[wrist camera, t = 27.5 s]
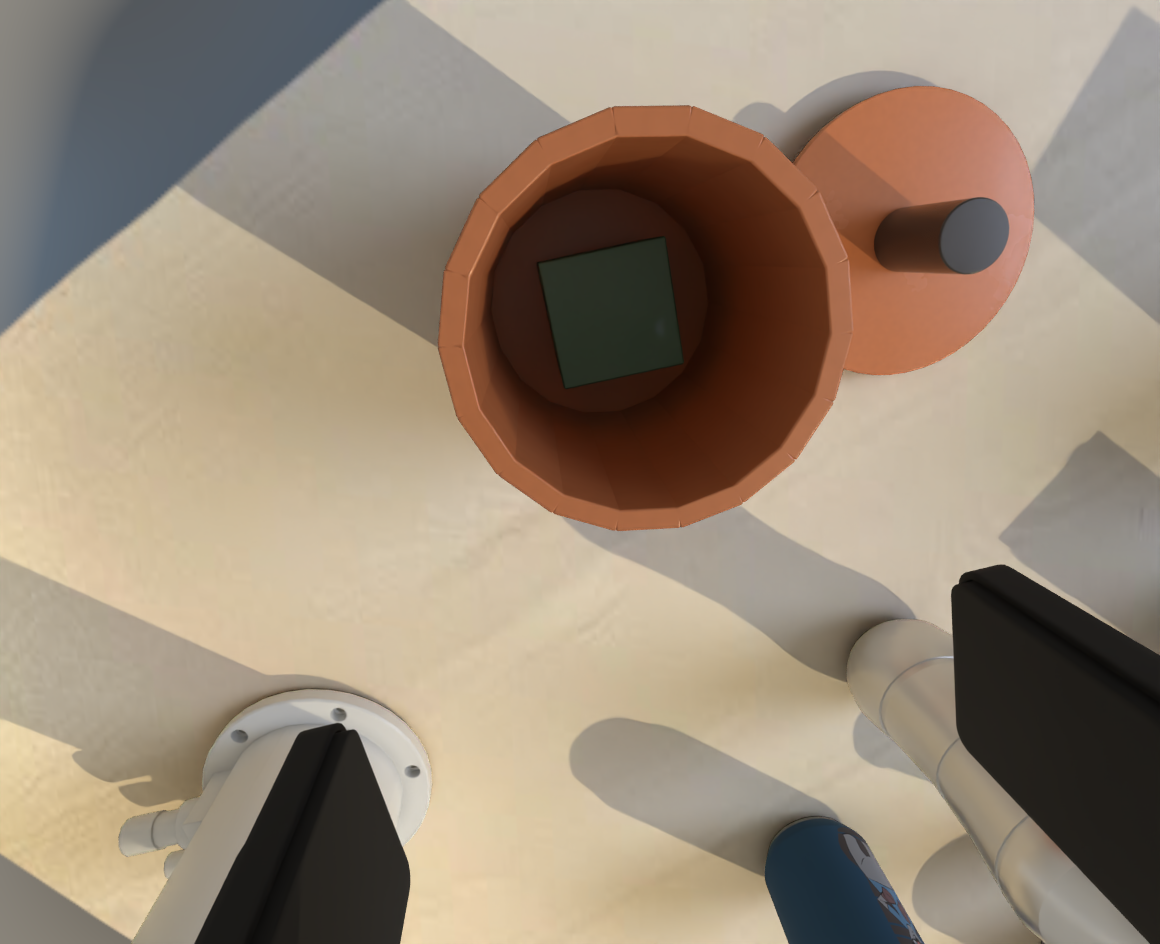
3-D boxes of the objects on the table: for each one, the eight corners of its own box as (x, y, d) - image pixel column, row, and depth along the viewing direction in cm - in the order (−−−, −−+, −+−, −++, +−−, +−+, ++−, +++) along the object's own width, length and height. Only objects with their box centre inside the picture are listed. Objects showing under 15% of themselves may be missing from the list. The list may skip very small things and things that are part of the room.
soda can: (749, 888, 43) (828, 1114, 32) (767, 807, 41) (858, 1018, 30) (848, 888, 44) (959, 1108, 32) (870, 808, 42) (998, 1014, 30)
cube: (559, 370, 31) (564, 390, 26) (536, 262, 29) (537, 262, 24) (661, 347, 31) (685, 364, 26) (643, 239, 29) (665, 235, 24)
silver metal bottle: (846, 600, 37) (1187, 966, 18) (957, 607, 37) (1398, 966, 18) (821, 696, 39) (1103, 1117, 20) (927, 700, 39) (1298, 1111, 20)
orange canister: (510, 445, 32) (497, 568, 19) (449, 201, 29) (384, 155, 16) (731, 397, 32) (864, 488, 20) (700, 147, 29) (838, 58, 16)
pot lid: (774, 394, 32) (828, 424, 27) (746, 124, 28) (803, 89, 23) (1013, 342, 33) (1120, 361, 27) (1019, 66, 29) (1145, 16, 23)
